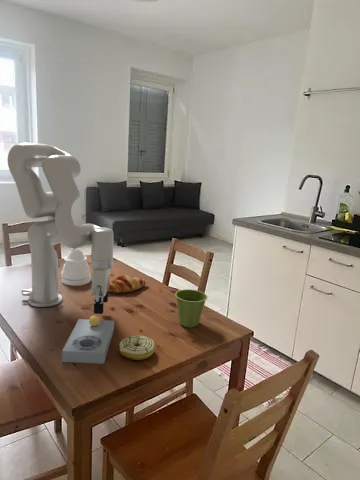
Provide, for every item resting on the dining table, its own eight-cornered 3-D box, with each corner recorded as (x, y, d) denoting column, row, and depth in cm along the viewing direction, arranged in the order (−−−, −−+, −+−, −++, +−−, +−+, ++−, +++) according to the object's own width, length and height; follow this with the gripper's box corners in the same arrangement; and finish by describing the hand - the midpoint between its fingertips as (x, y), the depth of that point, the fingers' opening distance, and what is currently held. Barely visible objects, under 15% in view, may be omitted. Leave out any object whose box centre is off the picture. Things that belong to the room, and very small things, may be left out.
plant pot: (210, 328, 129) (213, 299, 126) (181, 333, 124) (184, 303, 121) (195, 314, 139) (197, 287, 136) (167, 318, 134) (169, 290, 131)
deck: (78, 328, 122) (78, 319, 121) (113, 330, 122) (114, 320, 121) (62, 361, 102) (61, 351, 101) (103, 363, 103) (104, 353, 102)
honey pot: (55, 282, 160) (54, 244, 156) (77, 275, 170) (78, 239, 166) (73, 290, 153) (73, 250, 149) (96, 282, 164) (97, 245, 159)
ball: (87, 327, 115) (88, 318, 115) (90, 322, 119) (90, 313, 118) (98, 328, 116) (98, 318, 115) (100, 323, 119) (100, 314, 118)
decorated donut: (123, 341, 114) (124, 330, 113) (155, 345, 114) (157, 335, 113) (115, 359, 104) (116, 347, 103) (151, 364, 104) (152, 352, 103)
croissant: (143, 291, 166) (139, 274, 167) (154, 286, 158) (150, 269, 160) (101, 298, 152) (98, 280, 154) (111, 293, 145) (107, 275, 146)
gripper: (95, 255, 133) (95, 297, 137) (85, 270, 116) (85, 317, 120) (116, 256, 133) (114, 298, 137) (108, 271, 116) (107, 318, 120)
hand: (101, 307), depth 129 cm, fingers open, 9 cm apart
